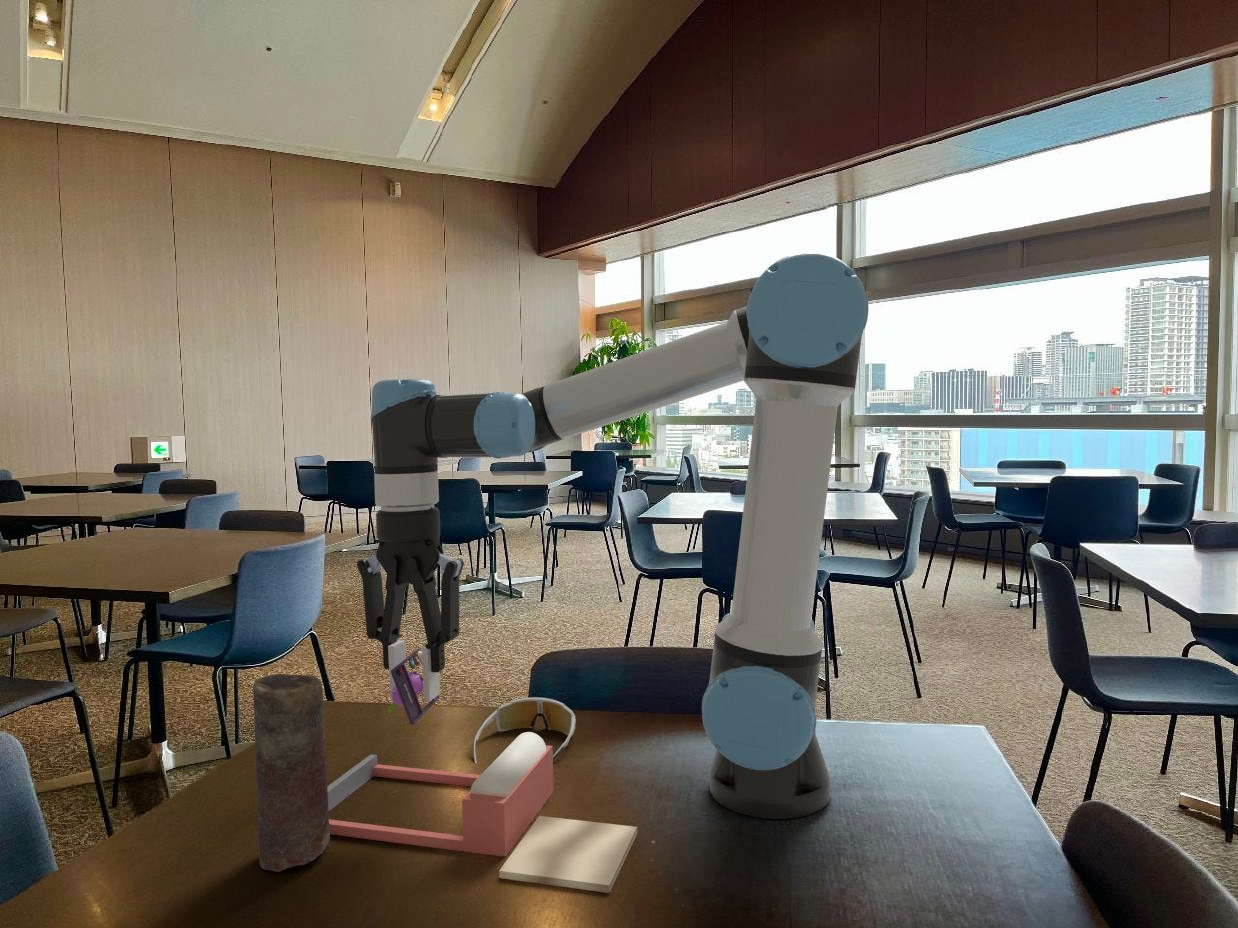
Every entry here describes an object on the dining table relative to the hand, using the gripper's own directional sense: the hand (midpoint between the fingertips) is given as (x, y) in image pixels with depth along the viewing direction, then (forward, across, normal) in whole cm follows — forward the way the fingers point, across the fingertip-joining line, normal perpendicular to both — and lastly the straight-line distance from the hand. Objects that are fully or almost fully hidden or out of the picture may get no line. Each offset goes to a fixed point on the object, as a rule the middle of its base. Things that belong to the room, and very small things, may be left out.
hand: (415, 695), depth 100 cm
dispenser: (+14, -2, 0) cm, 14 cm away
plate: (+14, -22, +6) cm, 27 cm away
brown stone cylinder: (+14, +8, +13) cm, 21 cm away
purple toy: (+1, 0, +2) cm, 3 cm away
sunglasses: (+15, -6, -21) cm, 27 cm away
